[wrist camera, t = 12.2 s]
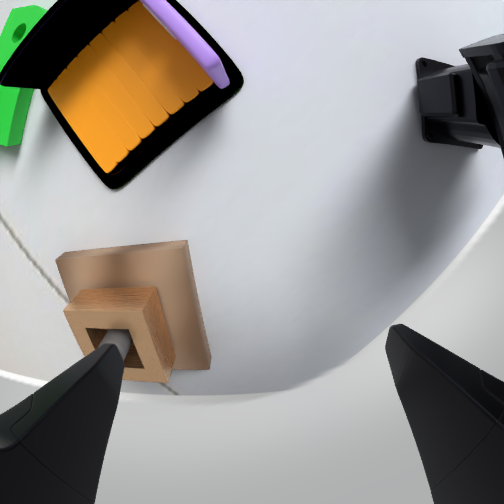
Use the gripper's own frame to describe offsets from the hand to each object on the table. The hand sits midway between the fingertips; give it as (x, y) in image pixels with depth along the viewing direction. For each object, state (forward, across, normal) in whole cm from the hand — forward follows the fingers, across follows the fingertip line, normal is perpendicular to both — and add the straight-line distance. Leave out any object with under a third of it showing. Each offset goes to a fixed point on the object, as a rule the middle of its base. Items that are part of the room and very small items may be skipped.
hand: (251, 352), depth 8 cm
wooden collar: (+10, +10, +6) cm, 15 cm away
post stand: (+12, +10, +6) cm, 17 cm away
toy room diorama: (+12, +7, -12) cm, 19 cm away
